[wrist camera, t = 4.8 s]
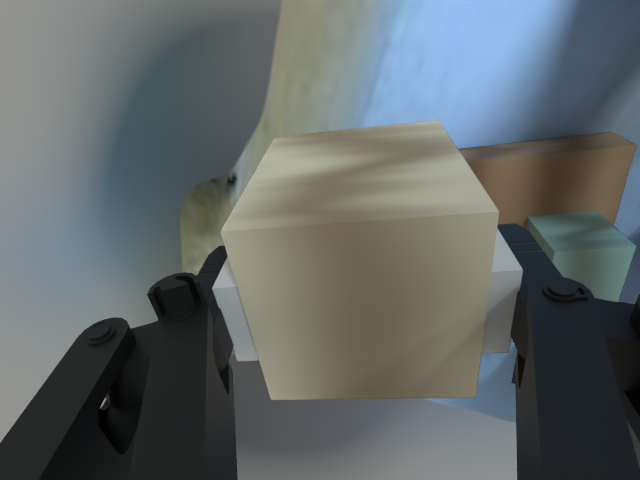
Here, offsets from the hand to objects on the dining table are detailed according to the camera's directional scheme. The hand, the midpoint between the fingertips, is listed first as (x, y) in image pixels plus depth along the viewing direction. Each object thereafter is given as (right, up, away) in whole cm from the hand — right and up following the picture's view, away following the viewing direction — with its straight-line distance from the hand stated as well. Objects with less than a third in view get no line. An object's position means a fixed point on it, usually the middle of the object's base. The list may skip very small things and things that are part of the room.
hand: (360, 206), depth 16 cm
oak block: (0, 0, 0) cm, 0 cm away
